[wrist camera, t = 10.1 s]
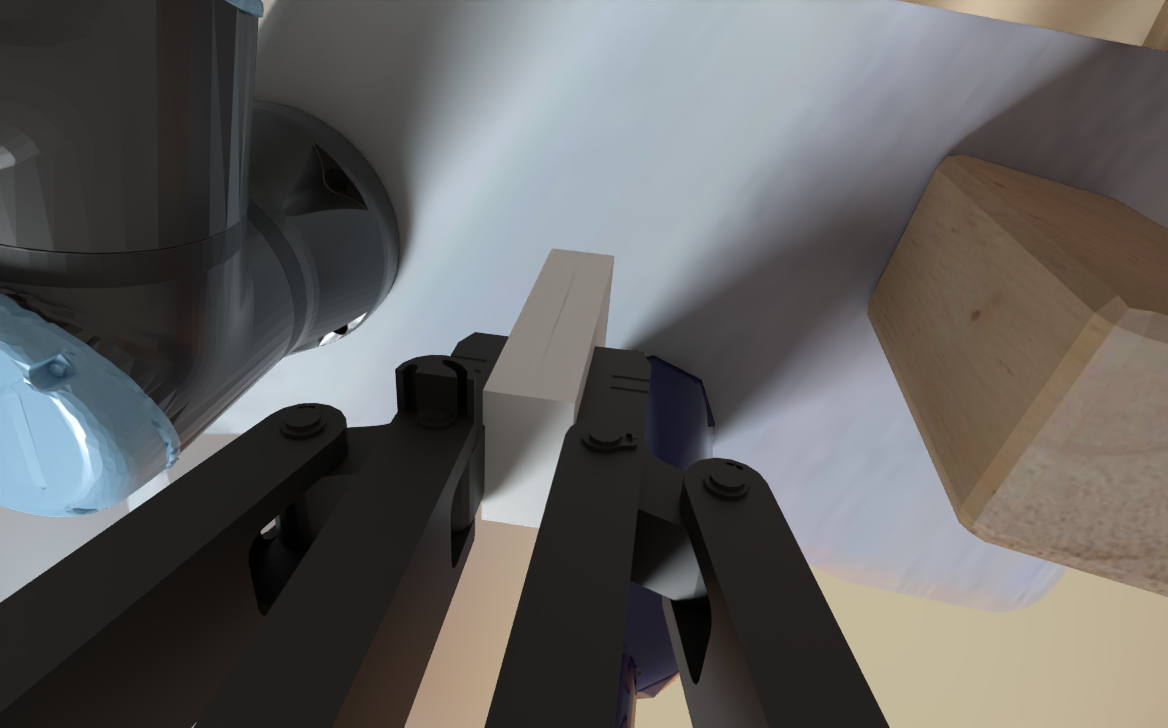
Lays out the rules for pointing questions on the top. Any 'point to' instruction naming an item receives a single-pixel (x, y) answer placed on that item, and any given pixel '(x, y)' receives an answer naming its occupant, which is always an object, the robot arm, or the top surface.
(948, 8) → the wooden tray
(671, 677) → the bottle
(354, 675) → the robot arm
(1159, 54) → the top surface
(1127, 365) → the wooden block
